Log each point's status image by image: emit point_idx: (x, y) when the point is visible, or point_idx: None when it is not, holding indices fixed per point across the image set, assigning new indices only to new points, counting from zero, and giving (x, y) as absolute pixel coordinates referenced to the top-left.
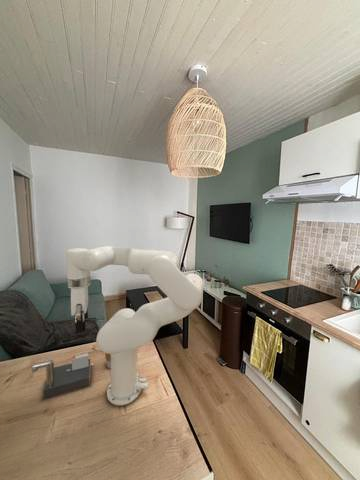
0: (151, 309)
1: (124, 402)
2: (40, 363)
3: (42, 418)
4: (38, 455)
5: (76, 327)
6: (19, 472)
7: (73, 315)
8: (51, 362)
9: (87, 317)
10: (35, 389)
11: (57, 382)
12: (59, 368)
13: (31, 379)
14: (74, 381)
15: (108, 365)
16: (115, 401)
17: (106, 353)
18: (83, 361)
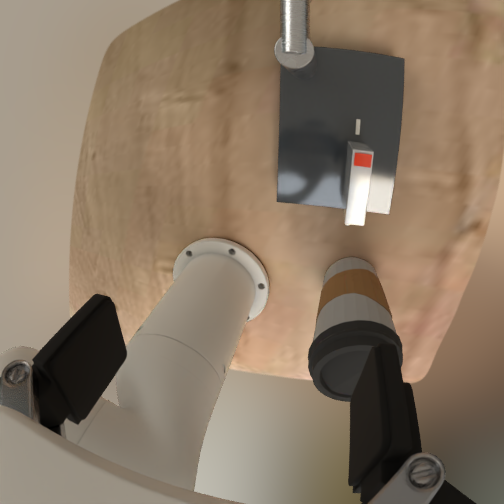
0: None
1: (173, 274)
2: (288, 9)
3: (208, 65)
4: (120, 89)
5: (70, 331)
6: (104, 66)
7: (16, 416)
8: (282, 60)
9: (350, 408)
10: (344, 20)
11: (302, 88)
12: (387, 92)
13: (403, 6)
14: (280, 149)
15: (335, 265)
16: (180, 257)
17: (338, 289)
18: (345, 194)
